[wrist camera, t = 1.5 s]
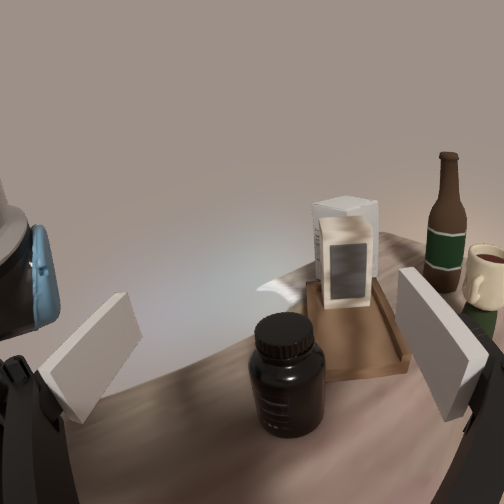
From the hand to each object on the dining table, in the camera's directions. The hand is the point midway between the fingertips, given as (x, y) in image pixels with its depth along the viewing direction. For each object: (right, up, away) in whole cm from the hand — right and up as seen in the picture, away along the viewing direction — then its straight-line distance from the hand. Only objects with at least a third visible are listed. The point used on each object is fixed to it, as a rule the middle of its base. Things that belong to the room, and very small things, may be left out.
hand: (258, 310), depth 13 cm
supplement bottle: (+4, -15, +14) cm, 21 cm away
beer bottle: (+35, -4, +34) cm, 48 cm away
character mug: (+31, -10, +18) cm, 37 cm away
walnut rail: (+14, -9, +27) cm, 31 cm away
